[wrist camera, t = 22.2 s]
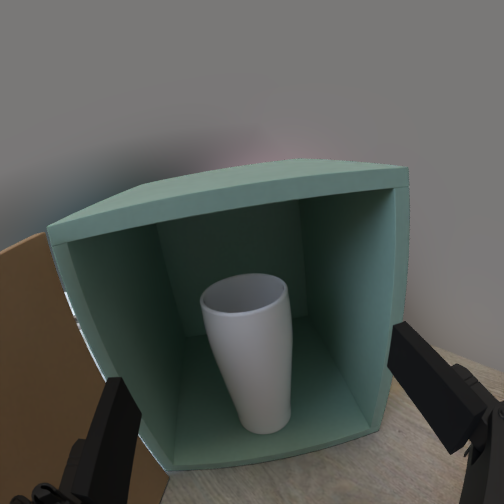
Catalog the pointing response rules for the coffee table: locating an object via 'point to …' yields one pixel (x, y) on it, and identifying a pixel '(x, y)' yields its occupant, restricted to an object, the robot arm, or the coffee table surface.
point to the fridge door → (48, 380)
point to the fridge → (235, 263)
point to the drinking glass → (252, 346)
